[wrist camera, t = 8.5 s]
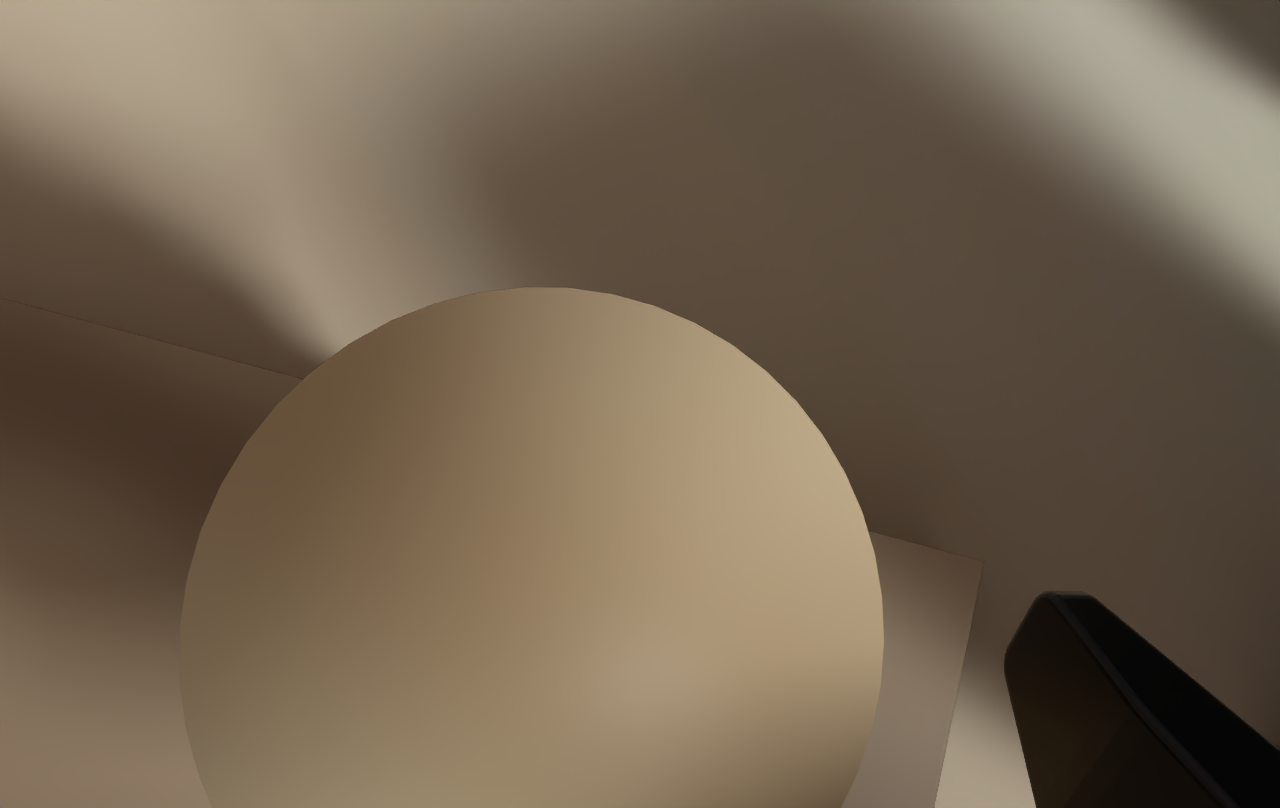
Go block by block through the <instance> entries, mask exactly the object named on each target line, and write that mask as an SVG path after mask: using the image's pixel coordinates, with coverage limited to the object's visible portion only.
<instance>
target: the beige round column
mask: <svg viewBox="0 0 1280 808" xmlns="http://www.w3.org/2000/svg"><path fill="white" fill-rule="evenodd" d="M883 649H884V629H883V606H882V594H881V588H880V582H879V576H878V570H877V564H876V558H875V553H874V550H873V546H872V543H871V539H870V536H869V533H868V529H867V526H866V523H865V519H864V516H863V512H862V510H861V508H860V506H859V503H858V501H857V499H856V496H855V494H854V492H853V489H852V487H851V485H850V483H849V480H848V478H847V476H846V473H845V472H844V470H843V468H842V466H841V465H840V463H839V461H838V460H837V458H836V456H835V455H834V453H833V451H832V450H831V448H830V446H829V445H828V443H827V441H826V439H825V438H824V436H823V435H822V433H821V432H820V431H819V430H818V428H817V427H816V426H815V424H814V423H813V422H812V421H811V419H810V418H809V417H808V415H807V414H806V413H805V412H804V410H803V409H802V408H801V406H800V405H799V404H798V402H797V401H796V400H795V399H794V398H793V397H792V396H791V395H790V394H789V393H788V392H787V391H786V390H785V389H784V388H783V387H782V386H781V385H780V384H779V383H778V382H777V381H776V380H775V379H774V378H773V377H772V376H771V375H770V374H769V373H768V372H767V371H765V370H764V369H763V368H762V367H760V366H759V365H758V364H756V363H755V362H754V361H753V360H751V359H750V358H749V357H747V356H746V355H745V354H743V353H742V352H741V351H740V350H738V349H737V348H736V347H734V346H733V345H732V344H730V343H728V342H727V341H725V340H723V339H721V338H720V337H718V336H716V335H715V334H713V333H711V332H710V331H708V330H706V329H704V328H703V327H701V326H699V325H698V324H696V323H694V322H692V321H689V320H687V319H684V318H682V317H680V316H677V315H675V314H673V313H670V312H668V311H666V310H663V309H661V308H659V307H656V306H653V305H650V304H646V303H643V302H639V301H635V300H632V299H628V298H625V297H621V296H618V295H614V294H608V293H601V292H595V291H588V290H581V289H574V288H548V287H521V288H513V289H504V290H495V291H487V292H479V293H475V294H471V295H467V296H463V297H459V298H455V299H451V300H447V301H443V302H439V303H435V304H432V305H430V306H427V307H425V308H422V309H419V310H417V311H414V312H412V313H409V314H407V315H404V316H402V317H399V318H397V319H394V320H392V321H390V322H388V323H386V324H384V325H382V326H381V327H379V328H377V329H375V330H373V331H372V332H370V333H368V334H366V335H364V336H362V337H361V338H359V339H357V340H355V341H353V342H352V343H350V344H348V345H347V346H346V347H344V348H343V349H342V350H340V351H339V352H338V353H336V354H335V355H334V356H332V357H331V358H329V359H328V360H327V361H325V362H324V363H323V364H321V365H320V366H319V367H317V368H316V369H315V370H313V371H312V372H311V373H310V374H309V375H308V376H307V377H305V378H304V379H303V380H302V381H301V382H300V383H299V384H298V385H297V386H296V387H295V388H294V389H293V390H292V391H291V392H290V393H289V394H288V395H287V396H286V397H285V398H284V399H283V400H282V401H280V402H279V403H278V404H277V405H276V407H275V408H274V409H273V410H272V412H271V413H270V414H269V415H268V417H267V418H266V419H265V420H264V422H263V423H262V424H261V425H260V427H259V428H258V429H257V430H256V432H255V433H254V434H253V435H252V437H251V438H250V439H249V440H248V442H247V443H246V444H245V446H244V448H243V449H242V451H241V452H240V454H239V456H238V457H237V459H236V461H235V462H234V464H233V466H232V467H231V469H230V471H229V472H228V474H227V476H226V477H225V479H224V481H223V482H222V484H221V486H220V488H219V490H218V492H217V495H216V497H215V499H214V502H213V504H212V506H211V508H210V511H209V513H208V515H207V518H206V520H205V522H204V524H203V527H202V529H201V531H200V535H199V538H198V542H197V545H196V549H195V552H194V556H193V559H192V563H191V566H190V570H189V573H188V577H187V582H186V588H185V595H184V602H183V609H182V616H181V623H180V647H179V680H180V688H181V696H182V704H183V712H184V719H185V727H186V731H187V735H188V738H189V742H190V746H191V749H192V753H193V757H194V760H195V764H196V768H197V771H198V775H199V778H200V780H201V782H202V784H203V787H204V789H205V791H206V794H207V796H208V798H209V801H210V803H211V805H212V808H841V807H842V805H843V803H844V801H845V799H846V797H847V794H848V792H849V790H850V788H851V786H852V784H853V782H854V780H855V777H856V775H857V773H858V770H859V767H860V764H861V761H862V758H863V755H864V752H865V749H866V746H867V743H868V740H869V737H870V734H871V731H872V727H873V722H874V717H875V712H876V707H877V702H878V697H879V692H880V687H881V675H882V662H883Z"/></svg>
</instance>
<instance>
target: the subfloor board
mask: <svg viewBox="0 0 1280 808" xmlns="http://www.w3.org/2000/svg"><path fill="white" fill-rule="evenodd" d="M302 380H303V379H300V378H297V377H293V376H289V375H285V374H282V373H278V372H274V371H271V370H267V369H263V368H259V367H256V366H252V365H248V364H244V363H241V362H237V361H233V360H230V359H226V358H222V357H218V356H215V355H211V354H207V353H203V352H200V351H196V350H192V349H188V348H185V347H181V346H177V345H174V344H170V343H166V342H162V341H159V340H155V339H151V338H147V337H144V336H140V335H136V334H133V333H129V332H125V331H121V330H118V329H114V328H110V327H106V326H103V325H99V324H95V323H91V322H88V321H84V320H80V319H77V318H73V317H69V316H65V315H62V314H58V313H54V312H50V311H47V310H43V309H39V308H36V307H32V306H28V305H24V304H21V303H17V302H13V301H9V300H6V299H2V298H0V808H212V805H211V803H210V801H209V798H208V796H207V794H206V791H205V789H204V787H203V784H202V782H201V780H200V778H199V775H198V771H197V768H196V764H195V760H194V757H193V753H192V749H191V746H190V742H189V738H188V735H187V731H186V727H185V719H184V712H183V704H182V696H181V688H180V680H179V647H180V623H181V616H182V609H183V602H184V595H185V588H186V582H187V577H188V573H189V570H190V566H191V563H192V559H193V556H194V552H195V549H196V545H197V542H198V538H199V535H200V531H201V529H202V527H203V524H204V522H205V520H206V518H207V515H208V513H209V511H210V508H211V506H212V504H213V502H214V499H215V497H216V495H217V492H218V490H219V488H220V486H221V484H222V482H223V481H224V479H225V477H226V476H227V474H228V472H229V471H230V469H231V467H232V466H233V464H234V462H235V461H236V459H237V457H238V456H239V454H240V452H241V451H242V449H243V448H244V446H245V444H246V443H247V442H248V440H249V439H250V438H251V437H252V435H253V434H254V433H255V432H256V430H257V429H258V428H259V427H260V425H261V424H262V423H263V422H264V420H265V419H266V418H267V417H268V415H269V414H270V413H271V412H272V410H273V409H274V408H275V407H276V405H277V404H278V403H279V402H280V401H282V400H283V399H284V398H285V397H286V396H287V395H288V394H289V393H290V392H291V391H292V390H293V389H294V388H295V387H296V386H297V385H298V384H299V383H300V382H301V381H302ZM868 533H869V536H870V539H871V543H872V546H873V550H874V553H875V558H876V564H877V570H878V576H879V582H880V588H881V594H882V606H883V629H884V649H883V662H882V675H881V687H880V692H879V697H878V702H877V707H876V712H875V717H874V722H873V727H872V731H871V734H870V737H869V740H868V743H867V746H866V749H865V752H864V755H863V758H862V761H861V764H860V767H859V770H858V773H857V775H856V777H855V780H854V782H853V784H852V786H851V788H850V790H849V792H848V794H847V797H846V799H845V801H844V803H843V805H842V807H841V808H934V805H935V801H936V796H937V791H938V786H939V781H940V776H941V771H942V766H943V761H944V756H945V751H946V746H947V741H948V736H949V732H950V727H951V722H952V717H953V712H954V707H955V702H956V697H957V692H958V687H959V682H960V677H961V672H962V668H963V663H964V658H965V653H966V648H967V643H968V638H969V633H970V628H971V623H972V618H973V613H974V608H975V603H976V599H977V594H978V589H979V584H980V579H981V574H982V569H983V564H984V562H983V561H979V560H976V559H972V558H968V557H964V556H961V555H957V554H953V553H949V552H946V551H942V550H938V549H935V548H931V547H927V546H923V545H920V544H916V543H912V542H908V541H905V540H901V539H897V538H893V537H890V536H886V535H882V534H879V533H875V532H871V531H868Z"/></svg>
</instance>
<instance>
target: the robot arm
mask: <svg viewBox="0 0 1280 808" xmlns="http://www.w3.org/2000/svg"><path fill="white" fill-rule="evenodd" d="M1004 672H1005V678H1006V683H1007V687H1008V691H1009V695H1010V699H1011V704H1012V708H1013V712H1014V716H1015V720H1016V725H1017V729H1018V733H1019V737H1020V741H1021V746H1022V750H1023V754H1024V758H1025V762H1026V767H1027V771H1028V775H1029V779H1030V783H1031V788H1032V792H1033V796H1034V800H1035V804H1036V808H1280V750H1279V749H1278V748H1277V747H1275V746H1274V745H1273V744H1272V743H1270V742H1269V741H1268V740H1267V739H1266V738H1264V737H1263V736H1262V735H1261V734H1260V733H1258V732H1257V731H1256V730H1255V729H1253V728H1252V727H1251V726H1250V725H1249V724H1247V723H1246V722H1245V721H1244V720H1243V719H1241V718H1240V717H1239V716H1238V715H1236V714H1235V713H1234V712H1233V711H1232V710H1230V709H1229V708H1228V707H1227V706H1226V705H1224V704H1223V703H1222V702H1221V701H1220V700H1218V699H1217V698H1216V697H1215V696H1213V695H1212V694H1211V693H1210V692H1209V691H1207V690H1206V689H1205V688H1204V687H1203V686H1201V685H1200V684H1199V683H1198V682H1196V681H1195V680H1194V679H1193V678H1192V677H1190V676H1189V675H1188V674H1187V673H1186V672H1184V671H1183V670H1182V669H1181V668H1179V667H1178V666H1177V665H1176V664H1175V663H1173V662H1172V661H1171V660H1170V659H1169V658H1167V657H1166V656H1165V655H1164V654H1163V653H1161V652H1160V651H1159V650H1158V649H1156V648H1155V647H1154V646H1153V645H1152V644H1150V643H1149V642H1148V641H1147V640H1146V639H1144V638H1143V637H1142V636H1141V635H1139V634H1138V633H1137V632H1136V631H1135V630H1133V629H1132V628H1131V627H1130V626H1129V625H1127V624H1126V623H1125V622H1124V621H1122V620H1121V619H1120V618H1119V617H1118V616H1116V615H1115V614H1114V613H1113V612H1112V611H1110V610H1109V609H1108V608H1107V607H1106V606H1104V605H1103V604H1102V603H1101V602H1099V601H1098V600H1097V599H1096V598H1094V597H1093V596H1091V595H1089V594H1087V593H1084V592H1078V591H1047V592H1043V593H1042V594H1040V595H1039V596H1038V597H1036V599H1035V600H1034V601H1033V603H1032V605H1031V607H1030V608H1029V610H1028V612H1027V614H1026V615H1025V617H1024V619H1023V621H1022V622H1021V624H1020V626H1019V628H1018V629H1017V631H1016V633H1015V634H1014V636H1013V638H1012V640H1011V641H1010V643H1009V645H1008V647H1007V650H1006V654H1005V660H1004Z"/></svg>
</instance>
